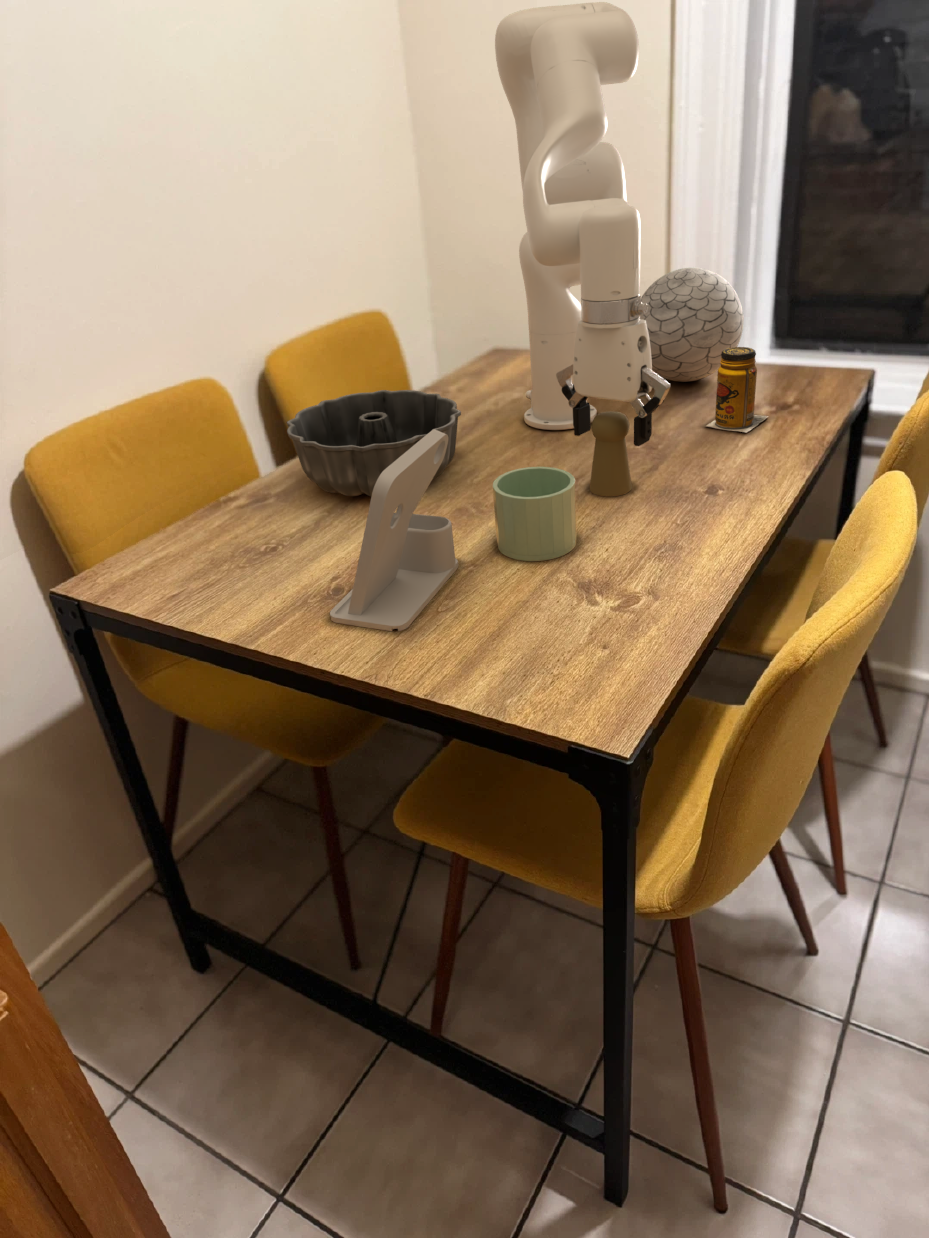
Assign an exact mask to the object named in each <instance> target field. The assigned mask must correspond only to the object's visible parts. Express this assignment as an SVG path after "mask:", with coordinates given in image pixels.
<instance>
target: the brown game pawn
mask: <svg viewBox="0 0 929 1238" xmlns="http://www.w3.org/2000/svg"><path fill="white" fill-rule="evenodd" d="M629 431H630V421H629V418H628V416H627V415H626V414H624V413H623V412H620V411H610V410H609V411H603V412H600V413H598V414H597V415H596V416H595V417H594V419H593V421H592V422H591V432H592V435H593V436H594V438H595V439H594V440H595V441H594V447H593V448H594V450H593V456H592V466H591V473H590V479H589V491H590V493H592V494H593V495H595V496H600V497H610V498H611V497H618V496H619V497H621V496H623V495H626V494H628V493H630V492H631V491H632V489H633V486H632V478H631V470H630V464H629V455H628V447H627V441H626V440H627V439H626V437H627V435H628V434H629Z"/></svg>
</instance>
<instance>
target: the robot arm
mask: <svg viewBox="0 0 929 1238" xmlns="http://www.w3.org/2000/svg"><path fill="white" fill-rule="evenodd" d="M494 35H495V36H494V51H495V60H496V61H495V62H496V67H497V71H498V76H499V79H500V83H501V86H502V89H503V91H504V94H505V96H506V98H507V102H508V103H509V107H510V109H511V112H512V115H513V118H514V123H515V128H516V130H515V131H516V140H517V141H516V142H517V153H518V162H519V163H518V164H519V172H520V180H521V182H520V183H521V189H522V205H523V206H522V207H523V212H524V220H525V227H526V232H525V234H524V235H523V236H522V237H521V240H520V243H519V246H518V247H519V248H518V254H519V255H518V256H519V263H520V269H521V274H522V279H523V284H524V291H525V297H526V306H527V323H528V337H529V338H528V339H529V359H530V360H529V361H530V378H531V379H530V380H531V390H526V392H525V398H527V399H529V400H530V404H531V405H530V406H531V407H529V408H528V409H527V410H526V411H525V412H524V414H523V419H524V420H523V421H524V423H525V424H527V426H530V427H531V428H534V429H540V430H546V431H565V430H571V429H573V434H574V436H575V437H580V436H582V435H584V434H586V433H587V432H589V431H591V430H592V421H593V419H594V417H595V416H596V415H598V414H597V413H598V411H597V408H596V407H595V406H594V405H592V404H590V402H588V399H589V398H592V399H600V400H608V401H615V402H616V401H617V402H623V403H629V404H630V406H631V407H632V409H633V410H634V411H635V413H636V414H637V416H635V417H634V418H633V445H634V446H635V447H641V446H642V445H644V444H646V443H647V442H649V441H650V440H651V437H652V433H653V413H655V412H656V410H657V409H658V408H660V406H661V405H662V404H663V403H664V402H665V398H667V395H668V393H669V392H670V389H671V383H669V382H668V381H667V380H666V379H665V378H663V377H661V376H659V375H658V374H656V373H654V372H653V371H652V359H651V348H650V340H649V334H648V329H647V325H646V321H645V320H641V319H640V316H641V314H646V313H647V311H648V305H647V304H646V303H642V302H641V297H642V295H641V217H640V212H639V210H638V209H637V208H636V207H635V206H632V205H631V204H630V203H629V202H628V200H627V199H628V198H627V185H626V174H625V167H624V163H623V159H622V156H621V153H620V152H619V150H618V148H617V147H616V146H615V145H614V144H612V143H609V142H604V141H602V140H603V139H604V137H605V136H606V133H607V130H608V114H607V110H606V106H605V101H604V100H605V99H604V95H603V90H602V86H604V85H605V86H606V85H614V84H615V85H616V84H623V83H626V82H628V81H629V80H631V79H632V78H633V76H634V75H635V73H636V71H637V68H638V64H639V59H640V42H639V35H638V31H637V29H636V26H635V23H634V21H633V19H632V17H631V16H630V14H629V13H628V12H627V11H626V10H624V9H623V8H621V7H618V6H616V5H614V4H612V3H610V2H605V1H595V2H584V3H573V4H572V3H571V4H562V5H561V4H560V5H549V6H539V7H531V8H526V9H522V10H521V9H520V10H518V11H515V12H512V13H510V14H508V15H506V16H504V18H502V19H501V20H500V21H499V23H498V25H497V27H496V30H495V34H494ZM579 285H580V301H579V299H577V298H576V297H575V295H574V294H573V293H572V292H571V291H570V289H571V288H572V287H575V286H579ZM652 389H653V391H654V393H653V396H652V398H651V396H650V395H649V393H650V392H652Z"/></svg>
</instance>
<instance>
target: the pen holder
mask: <svg viewBox="0 0 929 1238" xmlns="http://www.w3.org/2000/svg"><path fill="white" fill-rule="evenodd" d="M492 497H493V509H494V510H493V511H494V524H495V536H496V537H495V538H496V543H497V549H498V551H499V552H500V553H501V554H502V555H504V556H506V557H507V558H509V559H513V560H517V561H523V562H543V561H549V560H553V559H554V560H555V559H558V558H560V557H563V556H565V555H567V554H569V553H570V552H571V551H573V550H574V548H575V547H576V545H577V506H576V504H577V503H576V502H577V501H576V477H574V475H573V474H572V473H571V472H569V471H567V470H565V469H562V468H558V467H553V466H528V467H521V468H516V469H513V470H509V471H506V472H504V473H502V474H500V475H498V476H497V477H496V478H495V479H494V480H493V482H492Z"/></svg>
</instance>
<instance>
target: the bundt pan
mask: <svg viewBox="0 0 929 1238" xmlns="http://www.w3.org/2000/svg"><path fill="white" fill-rule="evenodd" d="M457 407H458V404H457V402H456V401H455V400H453V399H452V398H451V399H450V398H447V397H443V396H441V394H440V393H427V392H424V391H422V390H415V389H400V390H388V389H381V390H380V389H379V390H376V391H373V392H357V393H350V394H345V395H342V396H339V397H337V398H334V399H325V400H321V401H320V402H319V403H318V404H315V405H312V406H308V407H306V408H303V409H301V410H299V411H298V412H296V413H295V416H294V418H291V419H289V420H287V421H286V424H287V429H286V433H287V436H288V438H289V439H291V440H292V443H293V446H294V449H295V452H296V454H297V458H298V460H299V463H300V466H301V468H302V470H303V473H304V474H305V475H306V477H307V478H308V479H309V480H310V481H312V482H313V483H314V484H316V485H317V486H318V487H319V488H320V489H321V490H323V491H324V492H326V493H330V494H340V495H343V496H346V497H359V496H361V495H363V494H365V495H367V496H368V497H369V498H371V497H372V492H373V489H374V486H375V484H376V481H377V480H378V478H379V476H380V474H381V473H382V472H383V471H384V470H385V469H386V468H387V467H388V466H390V465H391V464H392V463H393V462H394V461H396V460H397V459H398V458H399V457H400V456H402V455H403V454H404V453H405V452H406V451H408V450H409V449H410V448H411V447H412V446H414V445H415V444H416V443H417V442H418V441H420V440H421V439H422V438H423V437H425V436H426V435H427V434H428V433H429V432H431V431H432V430H434V429H435V430H437V431H440V432H442V433H444V434H447V435H448V445H447V449H446V453H445V456H444V459H443V461H442V463H441V465H440V467H439V468H438V470H437V472H436V474H435V475H434V477H433V479H432V480H435V479H436V478H438V477H439V476H440V475H442V473H443V472H444V471H445V469H446V468H447V467H448V465H449V464H450V463H451V462H452V460H453V458H454V456H455V453H456V446H457V445H456V444H457V435H458V424H459V423H458V422H459V417H461V416H462V410H460V409H458V408H457Z"/></svg>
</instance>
